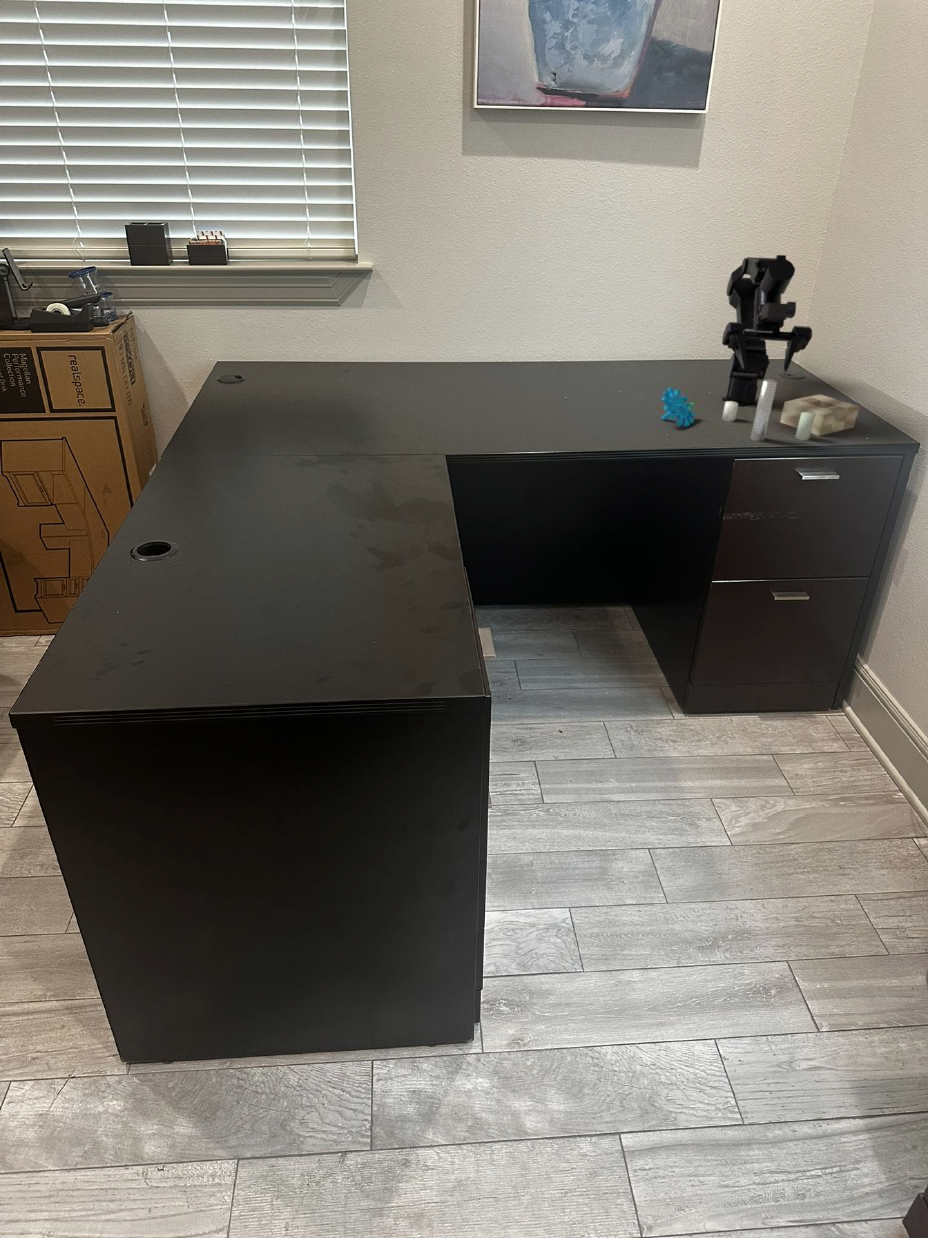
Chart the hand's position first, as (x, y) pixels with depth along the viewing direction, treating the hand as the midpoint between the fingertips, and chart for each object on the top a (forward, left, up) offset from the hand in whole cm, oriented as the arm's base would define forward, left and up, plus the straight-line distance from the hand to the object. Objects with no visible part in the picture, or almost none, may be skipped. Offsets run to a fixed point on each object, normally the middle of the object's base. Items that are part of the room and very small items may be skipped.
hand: (765, 369), depth 188 cm
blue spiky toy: (-11, -14, -14) cm, 22 cm away
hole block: (+6, +15, -13) cm, 21 cm away
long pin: (+6, -6, -13) cm, 16 cm away
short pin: (-7, -1, -13) cm, 15 cm away
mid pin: (+11, +4, -13) cm, 18 cm away
